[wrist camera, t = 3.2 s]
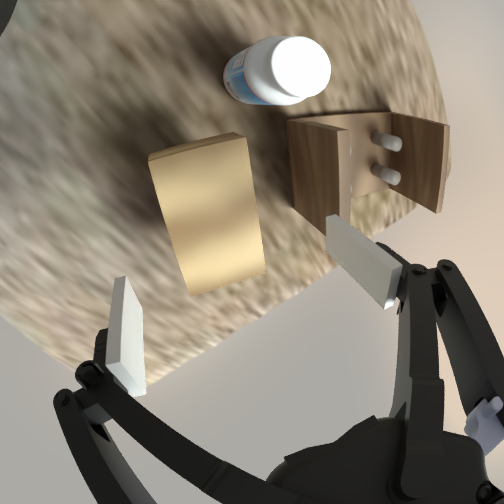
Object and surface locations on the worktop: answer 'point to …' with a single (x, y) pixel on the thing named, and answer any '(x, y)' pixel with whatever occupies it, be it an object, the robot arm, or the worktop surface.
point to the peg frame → (364, 161)
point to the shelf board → (210, 210)
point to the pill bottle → (277, 71)
